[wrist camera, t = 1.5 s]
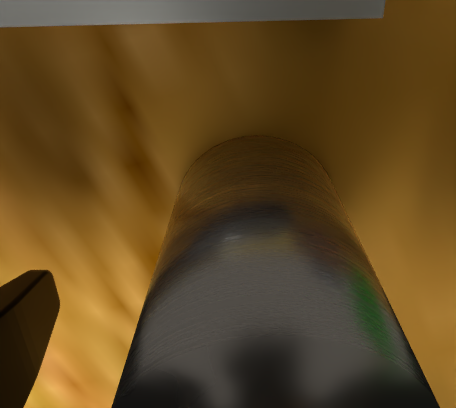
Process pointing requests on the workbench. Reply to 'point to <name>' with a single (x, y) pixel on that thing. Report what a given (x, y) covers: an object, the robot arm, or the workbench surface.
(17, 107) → the workbench surface
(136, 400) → the cell
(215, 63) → the workbench surface
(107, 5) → the checker frame
